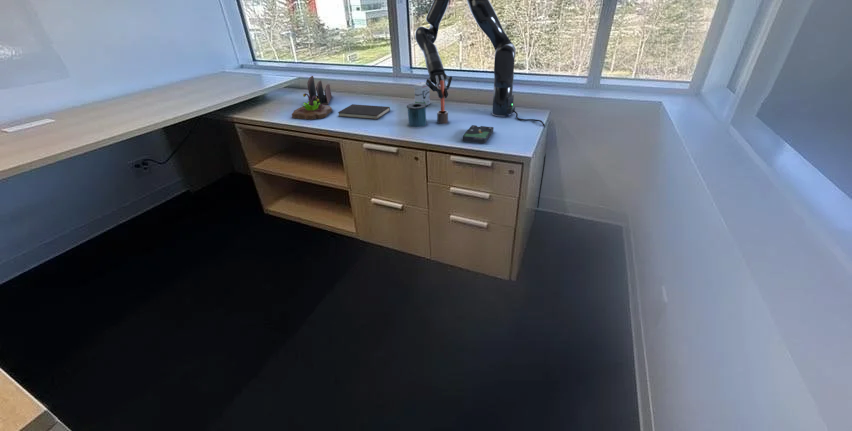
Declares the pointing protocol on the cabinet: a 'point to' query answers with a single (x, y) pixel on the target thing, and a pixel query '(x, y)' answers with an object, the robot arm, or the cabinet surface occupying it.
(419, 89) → the ink box
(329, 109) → the plant
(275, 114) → the cabinet surface
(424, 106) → the tumbler lid
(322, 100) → the letter holder
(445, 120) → the straw holder
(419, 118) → the tumbler
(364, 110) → the hardcover book
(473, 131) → the disk drive
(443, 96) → the straw
